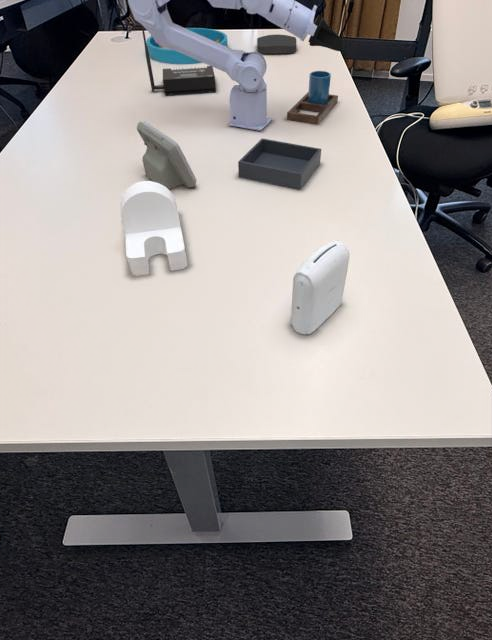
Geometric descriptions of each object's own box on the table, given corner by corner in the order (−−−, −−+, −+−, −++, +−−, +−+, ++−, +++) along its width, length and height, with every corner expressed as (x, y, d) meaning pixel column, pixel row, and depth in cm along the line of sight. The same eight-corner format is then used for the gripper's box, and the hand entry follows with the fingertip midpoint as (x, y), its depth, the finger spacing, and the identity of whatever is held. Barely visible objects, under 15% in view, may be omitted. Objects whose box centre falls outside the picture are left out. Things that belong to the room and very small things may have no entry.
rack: (286, 119, 121) (287, 112, 119) (308, 98, 131) (308, 91, 129) (318, 124, 118) (318, 117, 117) (337, 102, 128) (338, 95, 127)
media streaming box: (296, 54, 158) (297, 44, 156) (257, 54, 159) (256, 44, 156) (295, 42, 168) (295, 33, 166) (257, 43, 168) (257, 33, 166)
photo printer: (308, 339, 66) (315, 276, 57) (286, 327, 68) (289, 263, 59) (344, 304, 71) (357, 240, 62) (323, 293, 73) (331, 229, 64)
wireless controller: (213, 77, 144) (207, 12, 131) (216, 92, 135) (211, 24, 122) (152, 81, 143) (141, 16, 129) (151, 96, 134) (139, 28, 120)
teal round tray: (161, 39, 175) (158, 21, 170) (234, 40, 172) (233, 22, 167) (138, 62, 156) (134, 43, 151) (219, 64, 153) (218, 44, 148)
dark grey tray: (238, 177, 100) (238, 161, 97) (261, 153, 107) (261, 138, 105) (300, 190, 96) (301, 174, 93) (320, 164, 103) (321, 148, 100)
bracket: (188, 268, 78) (178, 211, 69) (131, 276, 77) (114, 219, 68) (177, 213, 90) (168, 158, 82) (128, 219, 89) (113, 164, 80)
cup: (304, 107, 126) (306, 76, 120) (311, 100, 129) (313, 69, 123) (323, 110, 124) (326, 78, 118) (330, 103, 128) (333, 72, 122)
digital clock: (199, 189, 96) (193, 140, 88) (161, 199, 94) (151, 149, 86) (176, 159, 106) (168, 112, 98) (140, 168, 104) (129, 120, 95)
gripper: (298, -6, 92) (353, 27, 95) (296, -6, 103) (345, 23, 106) (283, 32, 96) (336, 62, 100) (283, 28, 107) (331, 55, 111)
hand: (340, 44), depth 103 cm, fingers open, 7 cm apart
